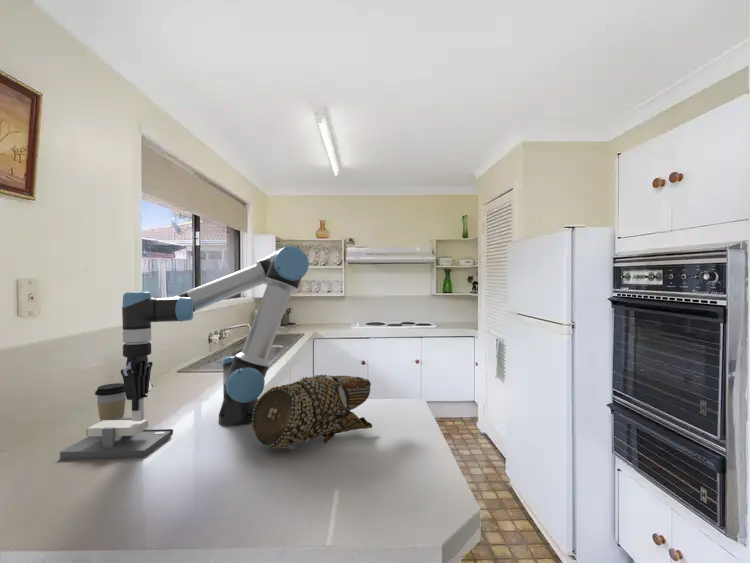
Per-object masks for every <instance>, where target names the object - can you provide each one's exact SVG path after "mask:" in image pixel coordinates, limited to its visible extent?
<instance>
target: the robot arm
mask: <svg viewBox="0 0 750 563" xmlns="http://www.w3.org/2000/svg"><path fill="white" fill-rule="evenodd" d="M309 262H310V261H309V258H308V256H307V254H306V253H305V251H304V250H302V249H301V248H299V247H298V246H291V245H284V246H283V247H280V248H279V249H277V250H275V251H274V252H272V253H271V254H269V255H268V256H266V257H264V258H262V259H259V260H257V261H256V263H255V264H254V265H252V266H248V267H246V268H243V269H241V270H238V271H235V272H233V273H230V274H228V275H225V276H222V277H220V278H218V279H215V280H213V281H210V282H207V283H205V284H202V285H199V286H197V287H194V288H192V289H189V290H187V291H185V292H182V293H179V294H176V295H173V296H169V297H158V298H157V297H152V295H151V292H150V291H128V292H127V291H126V292H124V294H123V295H122V306H121V314H122V315H121V316H122V318H121V320H122V342H123V345H122V356H123V357H124V358H126V363H125V365H126V367H125V368H122V369H121V370H120V375H121V376H122V380H123V384H124V387H125V393H126V395H125V398H126V400H128V401H131V417H132V421H142V420H145V418H144V417H145V416H144V415H145V411H144V410H145V409H144V407H145V404H144V398H148V393H149V388H150V382H151V381H150V380H151V372H152V366H153V365H154V364H153V361H149V357H148V356H150V355H151V354H152V343H151V342H150V341H152V323H165V322H166V323H167V322H180V323H181V322H186V321H192V320H193V319H194V312H198V311H200V310H202V309H204V308H207V307H209V306H212V305H214V304H216V303H217V304H218V303H219V302H222V301H225V300H226V299H229V298H232V297H234V296H236V295H239V294H242V293H243V292H246V291H248V290H251V289H254V288H256V287H259V286H261V285H265V286H266V287H265V290H264V293H263V296H262V298H261V301H260V302H259V305H258V309H257V311H256V314H255V316H254V318H253V321H252V324H251V326H250V329H249V332H248V334H247V337H246V340H245V342H244V344H243V347H242V349H241V351H240V352H238V353H236V354H235V355H231V356H226V357H224V358H223V359H222V360H223V361H222V372H223V373H222V377H223V378H222V380H223V381H222V385H223V386H222V387H223V392H222V393H223V394H222V395H223V401H222V403H221V407H220V408H219V412H218V423H219V424H220V425H223V426H226V427H227V426H231V427H235V426H236V427H237V426H245V425H251V424H252V419H253V417H252V416H253V412H254V411H253V409H254V408H255V405H256V403H257V402H258V400H259V398H260V397H261V396H262V393H263V391H264V389H265V385H266V384H265V383H266V382H265V378H266V375H267V373H268V370H269V367H270V364H269V362H268V357H269V353H270V351H271V348H272V345H273V343H274V340H275V338H276V336H277V332H278V330H279V328H280V324H281V322H282V319H283V316H284V313H285V311H286V309H287V305H288V303H289V300H290V298H291V295H292V294H293V293H294V292H296V291H298V289H299V287H300V284H301V281H302V278H304V276H305V275H306V274H307V272H308V270H309V267H310V263H309Z"/></svg>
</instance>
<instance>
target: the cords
mask: <svg viewBox="0 0 750 563" xmlns="http://www.w3.org/2000/svg"><path fill="white" fill-rule="evenodd" d="M163 431H171V436H172V435H173V433H174V429H172V428H167V429H161V428H160V429H145V430H143V431H141V432H163Z"/></svg>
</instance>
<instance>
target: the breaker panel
mask: <svg viewBox="0 0 750 563" xmlns="http://www.w3.org/2000/svg"><path fill="white" fill-rule="evenodd" d="M122 420H132V416H123V418H122ZM171 436H172V435H171V431H163V432H140V433H138V434H137V435H135V436H115V427H110V428H103V429H102V436H86V437H85V438H83V439H81V440H79V441H77V442H76V443H74V444H72V445H70V446H69V447H67V448H65V449H63V450H61V451H60V452H59V459H60V460H69V459H70V460H71V459H73V460H75V459H77V460H78V459H80V460H81V459H128V458H129V459H130V458H132V459H133V458H138V459H139V458H142V459H143V458H146V457H147V456H149V455H150V454H151V453H153V452H154V451H155V450H156V449H158V448H159V447H161V446H162V445H163V444H164V443H166V442H167V441H168V440H169V439H171Z"/></svg>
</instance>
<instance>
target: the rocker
mask: <svg viewBox="0 0 750 563" xmlns="http://www.w3.org/2000/svg"><path fill="white" fill-rule="evenodd" d="M110 427H115V436H135V435H137V434H138V433H140V432H141V431H143V430H147V428H149V419H144V420H142V421H132V420H103V421H101V422H100V421H99V422H97V423H95V424H93V425H91V426H89V427H87V428H86V429H85V430H86V432H85V435H86V437H89V436H102V429H103V428H110Z"/></svg>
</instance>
